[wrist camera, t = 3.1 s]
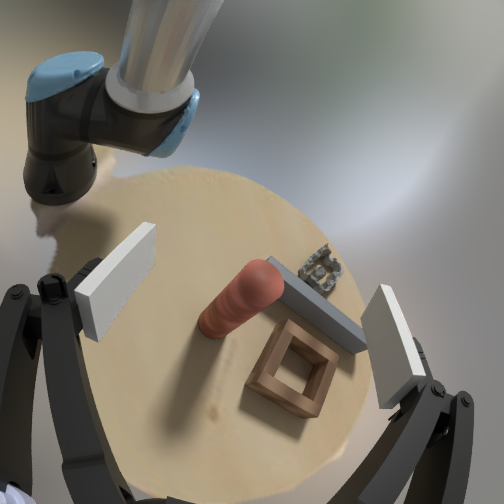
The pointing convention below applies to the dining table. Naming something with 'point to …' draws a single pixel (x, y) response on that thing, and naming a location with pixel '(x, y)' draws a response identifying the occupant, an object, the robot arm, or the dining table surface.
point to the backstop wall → (320, 311)
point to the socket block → (308, 349)
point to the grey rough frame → (321, 270)
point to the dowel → (242, 299)
